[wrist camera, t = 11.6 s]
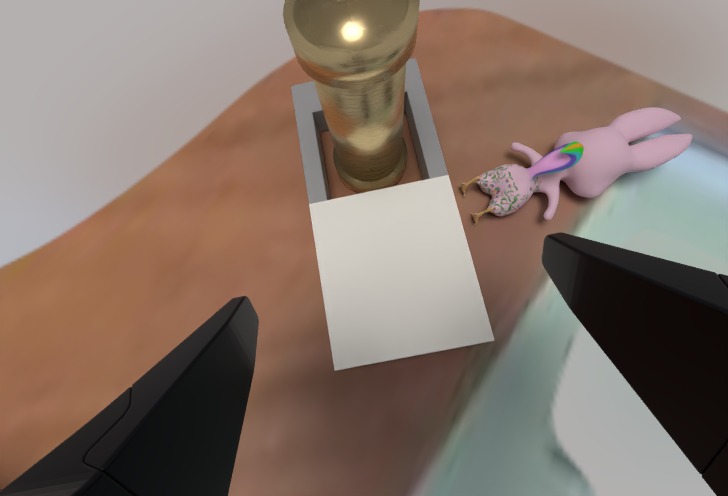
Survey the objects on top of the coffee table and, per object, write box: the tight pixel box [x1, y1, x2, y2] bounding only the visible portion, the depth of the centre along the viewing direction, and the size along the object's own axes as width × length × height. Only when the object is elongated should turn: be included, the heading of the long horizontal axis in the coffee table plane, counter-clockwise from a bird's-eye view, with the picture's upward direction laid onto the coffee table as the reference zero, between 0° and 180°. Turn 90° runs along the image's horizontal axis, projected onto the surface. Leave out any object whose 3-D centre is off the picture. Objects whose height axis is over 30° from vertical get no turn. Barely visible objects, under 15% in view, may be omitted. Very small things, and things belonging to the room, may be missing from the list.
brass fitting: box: [283, 0, 419, 193], centre depth 19 cm, size 6×6×13 cm
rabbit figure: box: [459, 107, 692, 225], centre depth 21 cm, size 6×6×15 cm
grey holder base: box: [291, 58, 495, 371], centre depth 23 cm, size 22×10×2 cm, turn 11°
